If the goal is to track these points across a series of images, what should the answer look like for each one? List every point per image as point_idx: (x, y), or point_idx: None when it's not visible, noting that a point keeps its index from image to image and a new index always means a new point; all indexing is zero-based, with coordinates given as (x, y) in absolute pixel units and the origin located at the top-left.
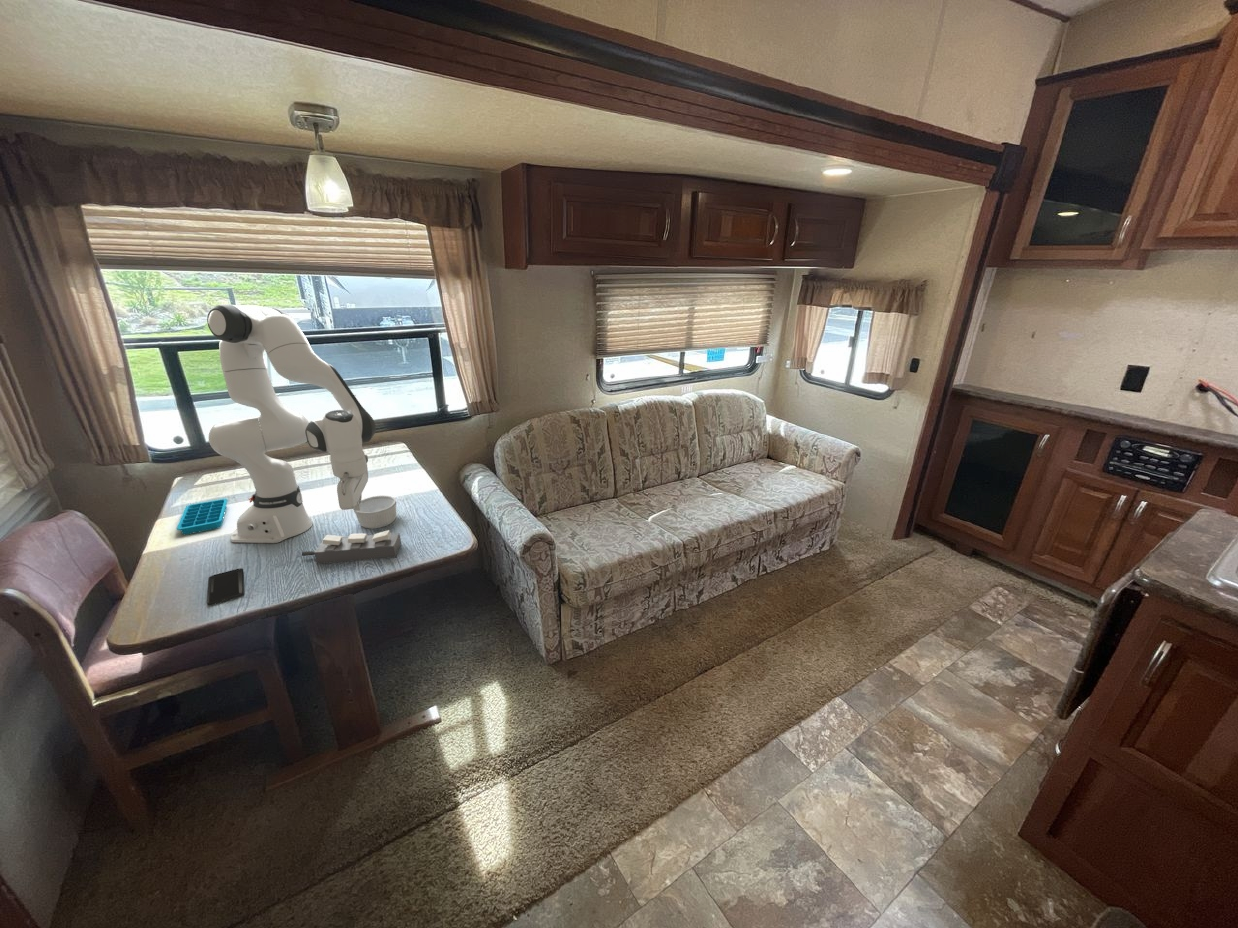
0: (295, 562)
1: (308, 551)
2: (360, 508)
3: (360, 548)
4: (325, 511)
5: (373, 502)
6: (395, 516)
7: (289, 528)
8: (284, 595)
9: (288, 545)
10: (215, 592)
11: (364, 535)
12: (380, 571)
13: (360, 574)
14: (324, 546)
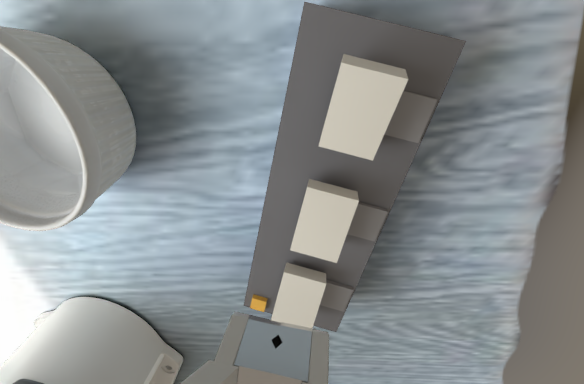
0: None
1: None
2: (306, 330)
3: (390, 203)
4: (12, 266)
5: None
6: (49, 35)
7: (140, 357)
8: (472, 356)
9: (201, 339)
10: None
11: (325, 196)
12: (531, 114)
13: (497, 188)
14: None
